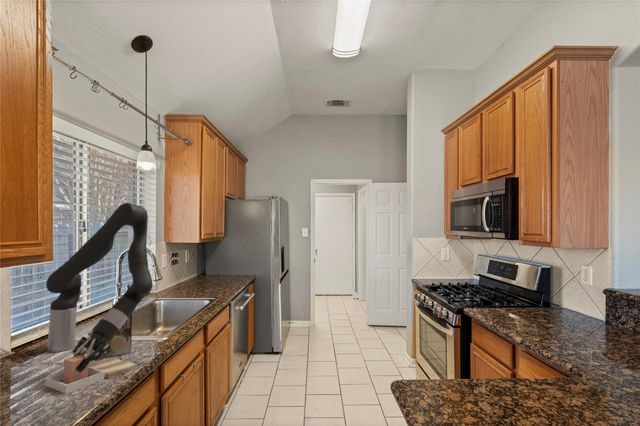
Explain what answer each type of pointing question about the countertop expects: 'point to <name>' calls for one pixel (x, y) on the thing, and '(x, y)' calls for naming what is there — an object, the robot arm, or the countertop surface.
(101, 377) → the square frame
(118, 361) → the maple board
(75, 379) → the terracotta block
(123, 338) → the coffee box
